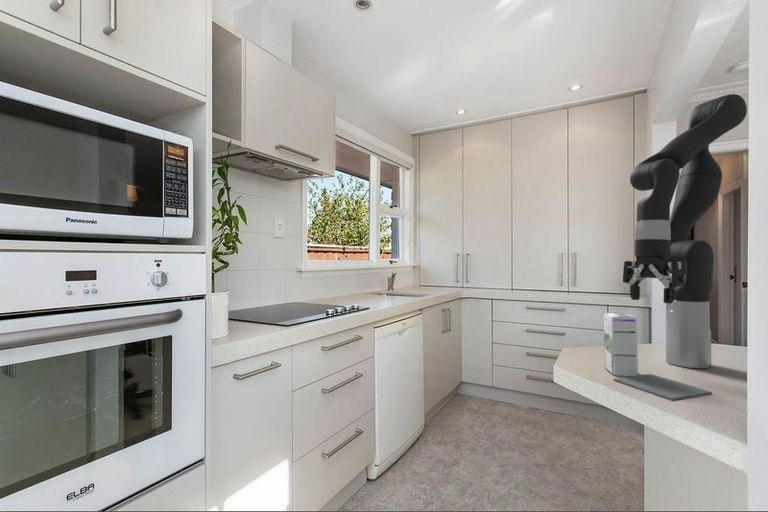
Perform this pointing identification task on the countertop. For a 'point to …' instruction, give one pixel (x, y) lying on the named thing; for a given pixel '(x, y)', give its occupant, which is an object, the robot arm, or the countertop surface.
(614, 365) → the syrup box
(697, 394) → the mat
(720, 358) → the countertop surface
